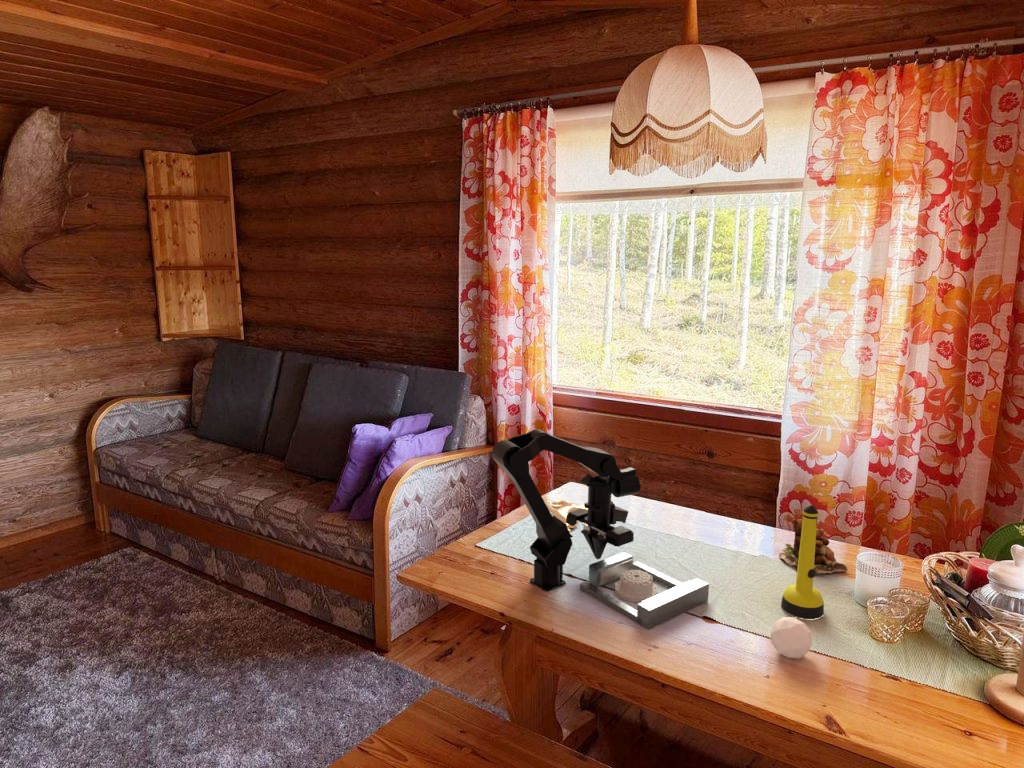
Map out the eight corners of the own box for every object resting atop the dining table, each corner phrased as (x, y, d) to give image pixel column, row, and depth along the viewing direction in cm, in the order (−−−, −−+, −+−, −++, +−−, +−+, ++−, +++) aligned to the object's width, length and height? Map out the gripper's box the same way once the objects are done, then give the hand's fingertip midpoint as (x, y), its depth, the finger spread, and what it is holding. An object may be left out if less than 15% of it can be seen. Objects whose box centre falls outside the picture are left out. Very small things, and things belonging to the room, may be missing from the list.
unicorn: (570, 490, 217) (612, 509, 205) (569, 502, 218) (611, 521, 206) (526, 506, 204) (568, 526, 192) (525, 518, 205) (567, 539, 193)
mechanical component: (659, 604, 155) (655, 584, 165) (660, 587, 154) (655, 567, 164) (616, 602, 156) (613, 582, 166) (616, 585, 155) (614, 565, 165)
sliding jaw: (599, 588, 162) (599, 570, 161) (588, 582, 165) (589, 564, 164) (634, 574, 169) (634, 556, 168) (623, 568, 172) (624, 551, 171)
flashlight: (780, 501, 150) (812, 515, 142) (810, 495, 154) (843, 509, 145) (772, 604, 155) (802, 624, 147) (801, 596, 158) (832, 615, 150)
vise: (648, 629, 145) (649, 610, 144) (579, 589, 162) (579, 572, 161) (707, 601, 156) (709, 583, 155) (637, 566, 174) (638, 550, 173)
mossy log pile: (814, 581, 166) (819, 535, 164) (770, 556, 180) (773, 513, 177) (855, 571, 171) (859, 526, 169) (808, 548, 185) (812, 505, 183)
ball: (777, 662, 138) (762, 622, 141) (817, 652, 136) (800, 611, 139) (780, 664, 131) (764, 622, 134) (822, 653, 129) (804, 611, 133)
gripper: (650, 503, 165) (647, 563, 168) (596, 483, 179) (595, 538, 182) (617, 514, 158) (616, 575, 161) (565, 491, 173) (564, 549, 176)
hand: (598, 558), depth 170 cm, fingers closed
